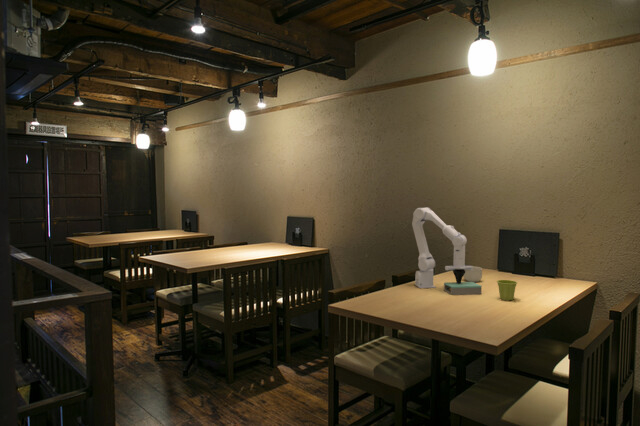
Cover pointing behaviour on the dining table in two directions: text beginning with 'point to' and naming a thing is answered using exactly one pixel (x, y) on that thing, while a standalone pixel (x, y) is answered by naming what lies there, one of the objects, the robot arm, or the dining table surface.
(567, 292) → the dining table surface
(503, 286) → the plant pot
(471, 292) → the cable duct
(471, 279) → the teacup
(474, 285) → the lid
